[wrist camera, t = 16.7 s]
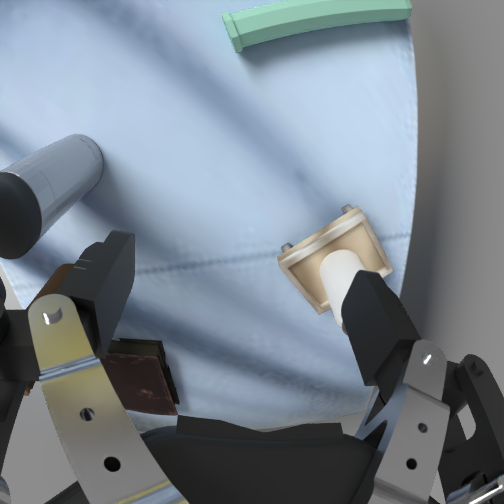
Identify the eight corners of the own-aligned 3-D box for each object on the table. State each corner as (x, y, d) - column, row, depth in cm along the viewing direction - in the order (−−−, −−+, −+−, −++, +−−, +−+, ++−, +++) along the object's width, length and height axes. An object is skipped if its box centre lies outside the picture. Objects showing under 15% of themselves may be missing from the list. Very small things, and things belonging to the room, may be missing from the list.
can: (367, 262, 46) (396, 314, 35) (338, 289, 48) (359, 345, 38) (340, 240, 43) (367, 292, 33) (309, 270, 46) (327, 327, 36)
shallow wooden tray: (312, 293, 54) (319, 314, 49) (275, 246, 49) (279, 267, 44) (380, 251, 50) (393, 270, 45) (351, 197, 45) (364, 213, 40)
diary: (118, 394, 73) (113, 408, 68) (87, 332, 59) (79, 348, 55) (183, 401, 73) (180, 417, 69) (165, 339, 60) (161, 358, 56)
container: (417, -10, 23) (223, 16, 26) (420, 28, 28) (239, 59, 31) (393, -17, 26) (219, 10, 29) (397, 18, 31) (233, 48, 34)
